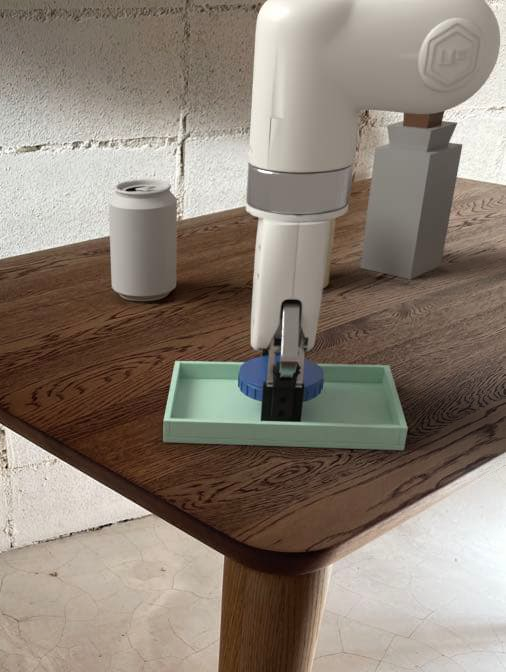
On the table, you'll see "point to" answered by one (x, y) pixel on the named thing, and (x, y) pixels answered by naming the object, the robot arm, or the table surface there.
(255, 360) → the jar lid
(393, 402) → the tray
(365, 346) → the table surface
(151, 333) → the table surface
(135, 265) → the can
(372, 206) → the perfume bottle
